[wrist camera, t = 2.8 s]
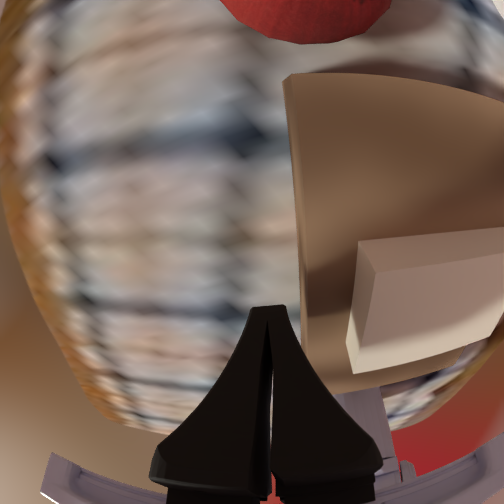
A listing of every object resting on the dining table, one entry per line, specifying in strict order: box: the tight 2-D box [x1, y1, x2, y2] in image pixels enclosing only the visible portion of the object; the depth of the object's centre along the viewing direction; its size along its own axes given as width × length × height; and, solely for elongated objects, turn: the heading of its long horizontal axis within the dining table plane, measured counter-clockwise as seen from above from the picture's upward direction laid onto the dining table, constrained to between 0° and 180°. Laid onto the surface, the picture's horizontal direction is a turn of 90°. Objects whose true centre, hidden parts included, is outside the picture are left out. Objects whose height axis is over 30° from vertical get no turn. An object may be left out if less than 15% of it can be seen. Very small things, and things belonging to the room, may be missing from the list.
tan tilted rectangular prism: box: [346, 227, 504, 374], centre depth 10 cm, size 6×9×2 cm, turn 99°
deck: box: [282, 73, 504, 395], centre depth 13 cm, size 18×12×4 cm, turn 9°
